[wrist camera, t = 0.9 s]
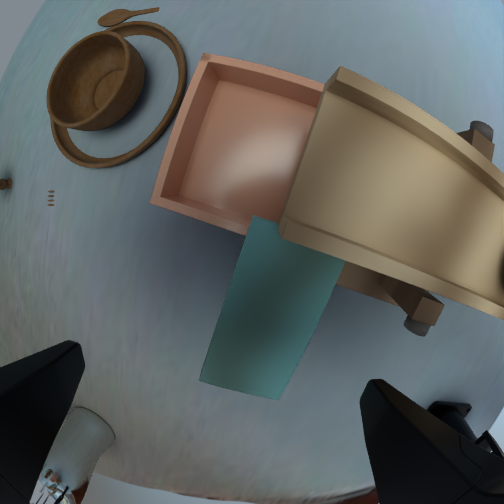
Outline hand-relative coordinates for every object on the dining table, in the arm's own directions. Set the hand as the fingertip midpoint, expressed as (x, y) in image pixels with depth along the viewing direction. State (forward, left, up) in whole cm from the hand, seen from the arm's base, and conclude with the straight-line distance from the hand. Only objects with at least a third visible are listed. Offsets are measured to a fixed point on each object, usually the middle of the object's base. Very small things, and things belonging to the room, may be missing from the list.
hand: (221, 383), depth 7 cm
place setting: (+18, -8, -12) cm, 23 cm away
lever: (-8, -3, -6) cm, 10 cm away
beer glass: (+11, +25, -12) cm, 30 cm away
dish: (+2, -7, -12) cm, 14 cm away
